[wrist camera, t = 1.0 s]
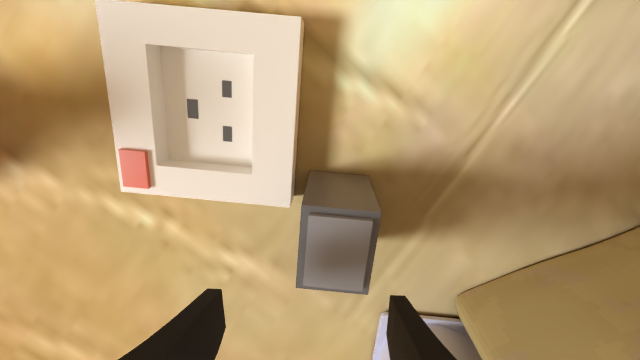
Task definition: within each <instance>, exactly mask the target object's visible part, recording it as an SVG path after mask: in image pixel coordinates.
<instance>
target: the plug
mask: <svg viewBox="0 0 640 360" xmlns="http://www.w3.org/2000/svg"><path fill="white" fill-rule="evenodd" d="M381 213H382V212H381V210H380V207H379V204H378V201H377V199H376V196H375V193H374V190H373V188H372V185H371V182H370V179H369V177H368V176H366V175H356V174H345V173H334V172H324V171H313V170H310V172H309V177H308V181H307V185H306V189H305V193H304V197H303V201H302V206H301V220H300V234H299V248H298V262H297V276H296V288H303V289H314V290H324V291H334V292H345V293H355V294H365V295H368V291H369V285H370V279H371V273H372V267H373V261H374V255H375V249H376V243H377V237H378V231H379V225H380V219H381Z"/></svg>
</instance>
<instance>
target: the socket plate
mask: <svg viewBox="0 0 640 360" xmlns="http://www.w3.org/2000/svg"><path fill="white" fill-rule="evenodd" d="M95 4H96V11H97V19H98V26H99V33H100V41H101V48H102V55H103V63H104V70H105V77H106V84H107V92H108V99H109V106H110V114H111V121H112V128H113V136H114V143H115V150H116V158H117V165H118V172H119V179H120V187H121V192H131V193H142V194H152V195H163V196H173V197H184V198H194V199H205V200H215V201H226V202H236V203H247V204H257V205H268V206H278V207H289V208H290V206H291V203H292V200H293V197H294V185H295V169H296V153H297V136H298V120H299V104H300V88H301V72H302V55H303V39H304V21H303V19H302V18H301V17H298V16H286V15H275V14H264V13H252V12H241V11H230V10H218V9H207V8H196V7H184V6H173V5H162V4H150V3H139V2H128V1H116V0H95Z"/></svg>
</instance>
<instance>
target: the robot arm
mask: <svg viewBox="0 0 640 360" xmlns="http://www.w3.org/2000/svg"><path fill="white" fill-rule="evenodd" d="M225 328H226V325H225V316H224V308H223V299H222V290H221V289H207V290H205V291H204V292H203V293H202V294H201V295H200V296H198V297H197V298H196V299H195V300H194V301H193V302H192V303H191V304H189V305H188V306H187V307H186V308H185V309H184V310H183V311H181V312H180V313H179V314H178V315H177V316H176V317H174V318H173V319H172V320H171V321H170V322H168V323H167V324H166V325H165V326H163V327H162V328H161V329H160V330H158V331H157V332H156V333H155V334H153V335H152V336H151V337H149V338H148V339H147V340H146V341H144V342H143V343H141V344H140V345H139V346H137V347H136V348H134V349H133V350H132V351H130V352H129V353H127V354H126V355H124V356H123V357H121V358H120V359H118V360H215V357H216V355H217V353H218V350H219V347H220V344H221V341H222V338H223V334H224V331H225ZM372 360H482V358H481V357H480V355H479V353H478V351H477V349H476V347H475V345H474V343H473V342H472V340H471V338H470V336H469V334H468V332H467V330H466V328H465V327H464V325H463V323H462V321H461V319H455V318H445V317H434V316H424V315H419V314H418V313H417V311H416V310H415V309H414V307H413V306H412V304H411V303H410V302H409V300H408V299H407V298H406V297H405V296H394V295H390V302H389V312H384V313H382V314H381V315H380V320H379V325H378V330H377V336H376V341H375V346H374V352H373V357H372Z"/></svg>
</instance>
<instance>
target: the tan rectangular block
mask: <svg viewBox="0 0 640 360" xmlns="http://www.w3.org/2000/svg"><path fill="white" fill-rule="evenodd" d="M455 306H456V309H457V313H458V315H459V317H460V319H461V321H462V323H463V325H464V327H465V328H466V330H467V332H468V334H469V336H470V338H471V340H472V342H473V343H474V345H475V347H476V349H477V351H478V353H479V355H480V357H481V358H482V360H640V227H638V228H635V229H633V230H631V231H628V232H626V233H623V234H621V235H619V236H616V237H614V238H611V239H608V240H606V241H603V242H601V243H598V244H595V245H592V246H589V247H587V248H584V249H581V250H578V251H575V252H571V253H568V254H565V255H562V256H559V257H556V258H553V259H550V260H547V261H544V262H541V263H538V264H535V265H532V266H529V267H527V268H524V269H521V270H519V271H516V272H513V273H511V274H508V275H505V276H503V277H500V278H498V279H495V280H493V281H490V282H488V283H485V284H483V285H480V286H478V287H475V288H473V289H470V290H468V291H466V292H464V293H462V294H460V295H459V296H458V297H457V298H456V299H455Z"/></svg>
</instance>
